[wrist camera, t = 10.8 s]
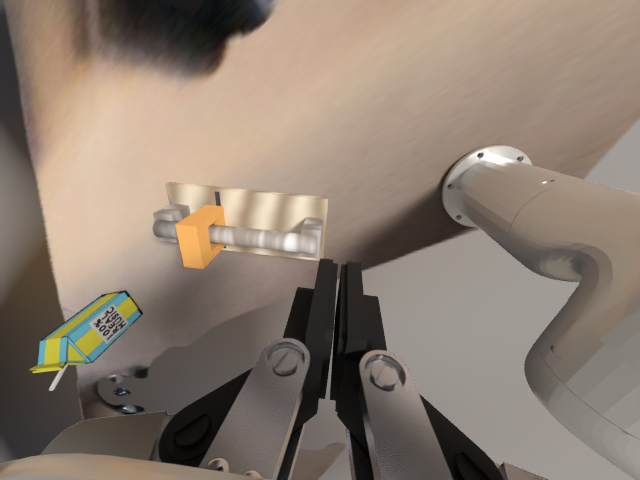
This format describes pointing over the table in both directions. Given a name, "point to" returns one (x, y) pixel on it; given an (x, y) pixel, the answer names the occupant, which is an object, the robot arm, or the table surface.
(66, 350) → the carton
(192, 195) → the pipe rig
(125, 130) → the table surface
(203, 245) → the collar
